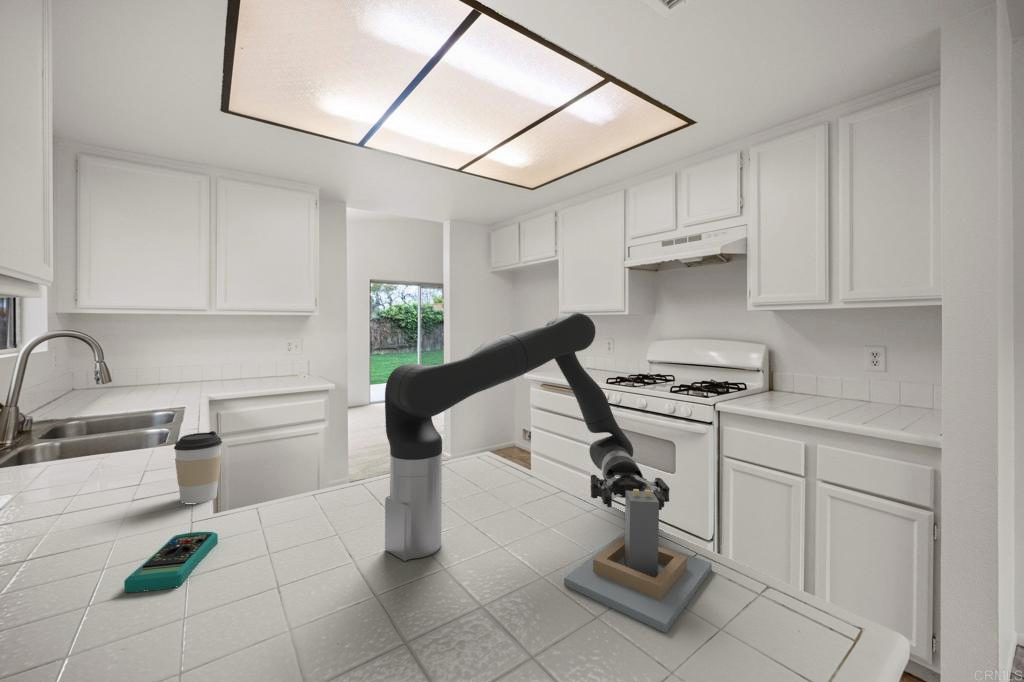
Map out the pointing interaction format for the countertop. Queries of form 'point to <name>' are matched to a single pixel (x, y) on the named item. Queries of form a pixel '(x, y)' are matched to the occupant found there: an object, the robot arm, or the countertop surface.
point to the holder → (640, 583)
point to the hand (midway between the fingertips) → (634, 503)
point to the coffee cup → (198, 466)
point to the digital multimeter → (172, 562)
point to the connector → (641, 532)
